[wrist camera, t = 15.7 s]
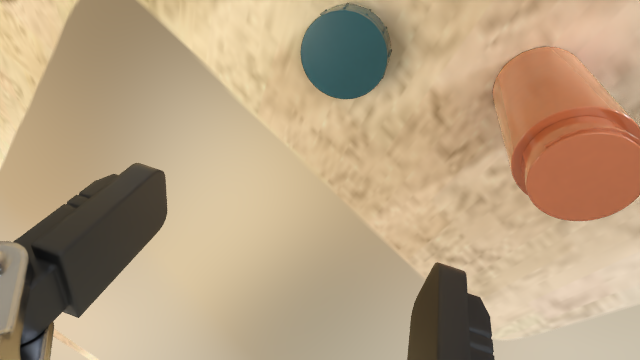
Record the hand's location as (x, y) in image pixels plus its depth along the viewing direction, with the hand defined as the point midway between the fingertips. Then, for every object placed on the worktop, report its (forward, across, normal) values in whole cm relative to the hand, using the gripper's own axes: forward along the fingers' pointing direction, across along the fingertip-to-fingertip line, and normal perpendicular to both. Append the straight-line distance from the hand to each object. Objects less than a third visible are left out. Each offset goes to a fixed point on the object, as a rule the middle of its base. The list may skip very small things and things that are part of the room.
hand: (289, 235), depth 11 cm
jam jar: (+19, -10, 0) cm, 21 cm away
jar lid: (+17, +2, 0) cm, 17 cm away
